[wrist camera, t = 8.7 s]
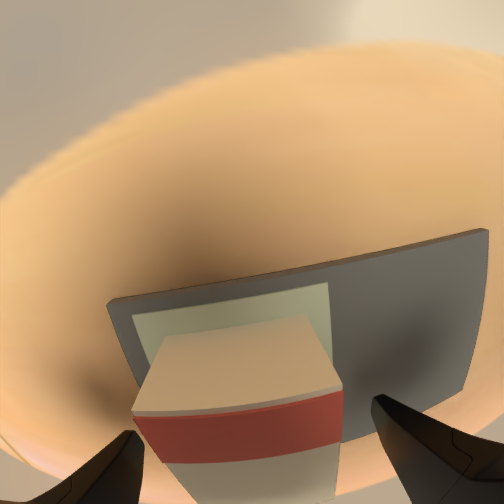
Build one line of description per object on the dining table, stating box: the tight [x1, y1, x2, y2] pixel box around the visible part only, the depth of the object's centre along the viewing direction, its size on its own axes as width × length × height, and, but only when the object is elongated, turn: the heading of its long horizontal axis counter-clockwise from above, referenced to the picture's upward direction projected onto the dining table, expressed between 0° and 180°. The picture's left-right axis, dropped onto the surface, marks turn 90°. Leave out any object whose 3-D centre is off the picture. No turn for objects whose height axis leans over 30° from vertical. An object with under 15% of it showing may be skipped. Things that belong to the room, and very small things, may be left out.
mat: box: [106, 228, 489, 444], centre depth 10 cm, size 17×10×1 cm, turn 100°
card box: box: [131, 314, 344, 504], centre depth 8 cm, size 7×5×4 cm
